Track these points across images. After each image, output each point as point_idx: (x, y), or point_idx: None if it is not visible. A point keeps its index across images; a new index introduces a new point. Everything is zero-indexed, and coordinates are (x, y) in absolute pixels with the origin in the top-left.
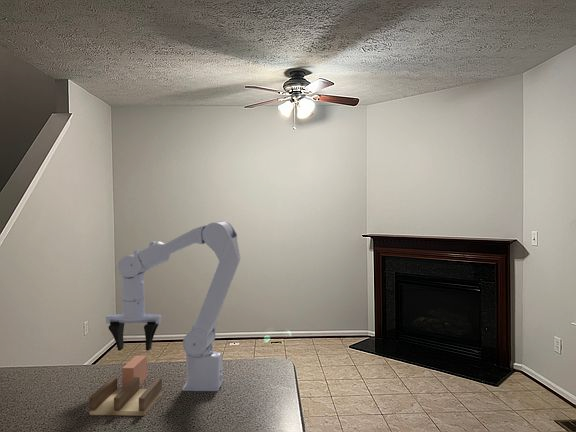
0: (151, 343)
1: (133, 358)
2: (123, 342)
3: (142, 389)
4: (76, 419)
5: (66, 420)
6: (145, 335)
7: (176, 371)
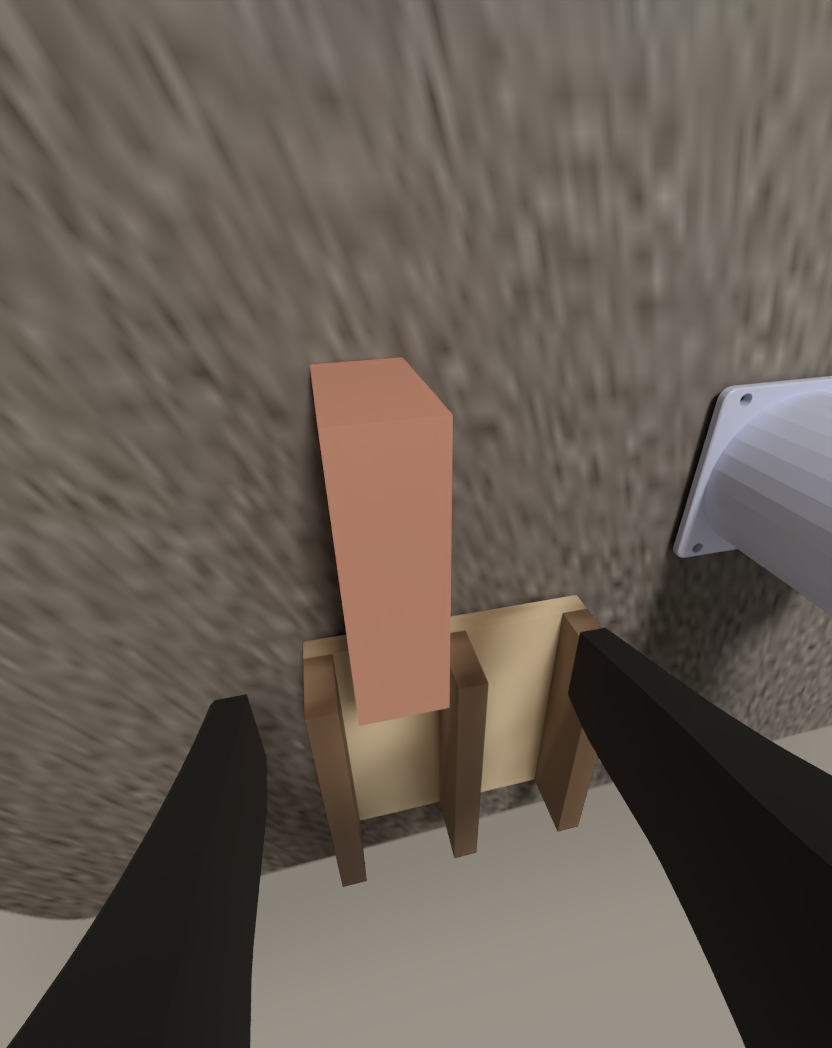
0: (652, 673)
1: (337, 526)
2: (232, 753)
3: (483, 632)
4: (303, 829)
5: (269, 842)
6: (692, 923)
7: (619, 178)
